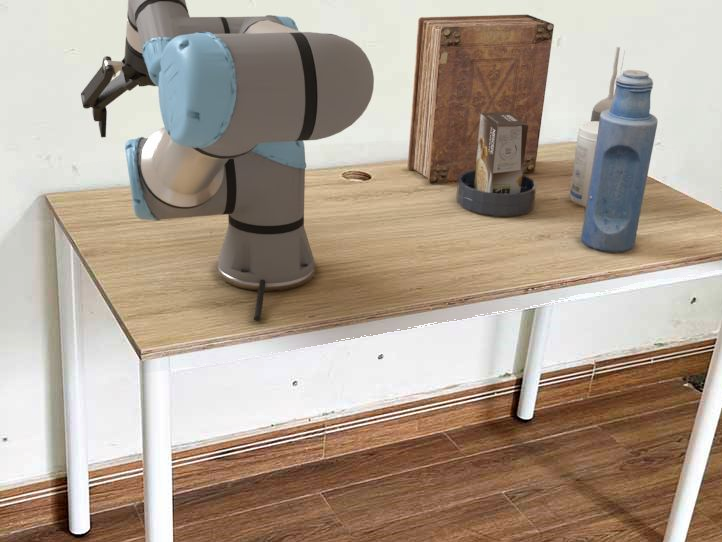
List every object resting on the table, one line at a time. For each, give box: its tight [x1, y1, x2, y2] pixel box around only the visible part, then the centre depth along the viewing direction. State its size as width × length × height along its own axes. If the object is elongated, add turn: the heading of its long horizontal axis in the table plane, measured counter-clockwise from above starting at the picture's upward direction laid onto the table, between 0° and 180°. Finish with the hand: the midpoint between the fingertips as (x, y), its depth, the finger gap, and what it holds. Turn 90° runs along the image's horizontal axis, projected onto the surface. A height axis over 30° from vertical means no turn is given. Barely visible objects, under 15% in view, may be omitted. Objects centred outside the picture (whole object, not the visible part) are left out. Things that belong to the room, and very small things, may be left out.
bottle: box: [580, 69, 658, 254], centre depth 181 cm, size 10×10×30 cm
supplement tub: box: [569, 120, 599, 208], centre depth 204 cm, size 10×10×15 cm
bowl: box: [455, 170, 538, 218], centre depth 202 cm, size 15×15×4 cm
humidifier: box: [590, 46, 626, 122], centre depth 221 cm, size 8×8×25 cm
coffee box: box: [474, 112, 528, 194], centre depth 198 cm, size 9×6×16 cm
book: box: [407, 14, 555, 185], centre depth 212 cm, size 25×9×30 cm, turn 116°
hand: (143, 129), depth 179 cm, fingers open, 13 cm apart
